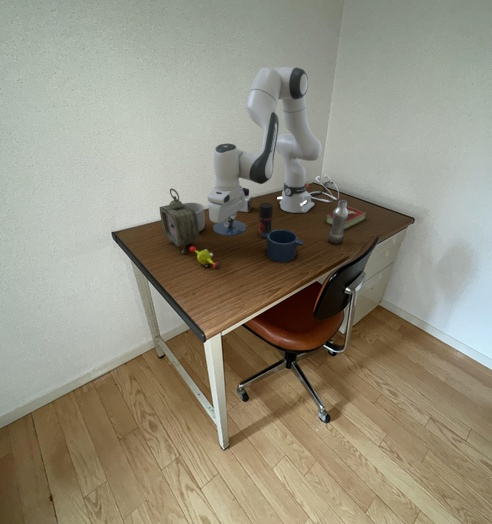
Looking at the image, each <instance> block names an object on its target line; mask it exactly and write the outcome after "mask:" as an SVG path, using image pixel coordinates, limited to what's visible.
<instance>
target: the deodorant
mask: <svg viewBox="0 0 492 524" xmlns="http://www.w3.org/2000/svg"><path fill="white" fill-rule="evenodd" d="M258 209H259V210H258V236H259V237H260V238H263V237H261V235H262V234H263V233H269V232H271V231H273V229H272V228H273V209H274V205H273V204H272V203H270V202H261V203H259V205H258Z"/></svg>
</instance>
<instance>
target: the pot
mask: <svg viewBox="0 0 492 524" xmlns="http://www.w3.org/2000/svg"><path fill="white" fill-rule="evenodd" d="M262 237H263V238H264V239H266V256H267V257H268V258H269V259H270V260H272V261H274V262H278V263H289V262H291V261H293V260H294V259H295V258H296V256H297V250H298V249H297V248H298V246H300V247H303V245H304V243H305V241H304V240H301V239H300V240H299V237H298V235H297V234H296V233H295V232H294V231H291V230H288V229H272V231H271V232H269V233H263V234H262V235H261V237H260V238H262Z"/></svg>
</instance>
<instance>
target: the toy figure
mask: <svg viewBox="0 0 492 524" xmlns="http://www.w3.org/2000/svg"><path fill="white" fill-rule="evenodd" d="M188 251H190V252H191V253H195V254H196V259H197V261H198V263H200V264H201V265H202V266H205V268H209V267H210V265H209V264H211V265H212V267H213V269H215V270H219V269H220V268H221V263H219V262H216V261H215V262H214V261H213V260H212V258H213V256H214V254H213V253H212V252H210V251H209V250H208V249H206V248H205V249H202V250H200V251H199V250H197V247H196V246H195V245H191V246H189V249H188Z"/></svg>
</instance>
